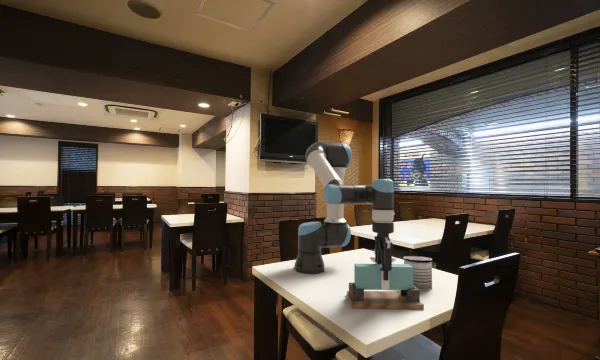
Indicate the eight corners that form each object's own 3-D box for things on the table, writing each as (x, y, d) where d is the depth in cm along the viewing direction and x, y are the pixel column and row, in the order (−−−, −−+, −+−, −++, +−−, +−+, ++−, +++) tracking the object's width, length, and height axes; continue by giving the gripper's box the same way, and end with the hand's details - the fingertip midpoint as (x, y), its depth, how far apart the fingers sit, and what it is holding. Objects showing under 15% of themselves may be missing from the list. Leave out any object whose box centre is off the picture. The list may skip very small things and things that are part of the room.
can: (403, 288, 112) (402, 258, 112) (403, 279, 123) (403, 252, 123) (433, 292, 108) (433, 261, 108) (431, 283, 118) (431, 255, 119)
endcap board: (353, 308, 92) (353, 292, 92) (346, 294, 104) (346, 280, 104) (423, 309, 92) (423, 292, 92) (409, 295, 104) (409, 280, 104)
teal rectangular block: (356, 289, 96) (356, 266, 97) (354, 285, 100) (354, 263, 101) (413, 290, 96) (413, 267, 97) (408, 286, 100) (408, 264, 101)
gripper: (402, 224, 91) (402, 295, 90) (385, 219, 108) (385, 278, 107) (379, 224, 91) (379, 295, 90) (366, 218, 108) (366, 278, 107)
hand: (383, 286), depth 98 cm, fingers closed on teal rectangular block, 4 cm apart
